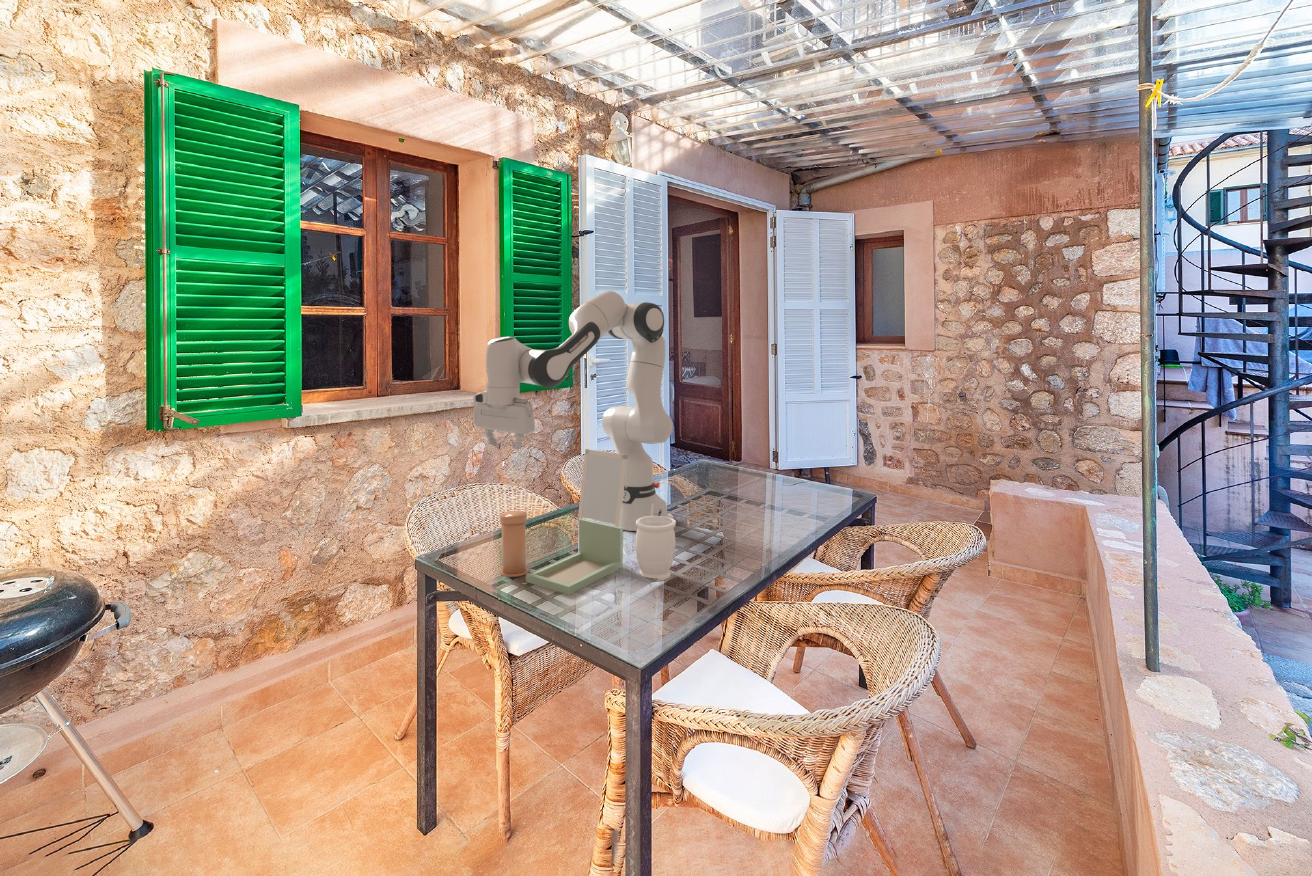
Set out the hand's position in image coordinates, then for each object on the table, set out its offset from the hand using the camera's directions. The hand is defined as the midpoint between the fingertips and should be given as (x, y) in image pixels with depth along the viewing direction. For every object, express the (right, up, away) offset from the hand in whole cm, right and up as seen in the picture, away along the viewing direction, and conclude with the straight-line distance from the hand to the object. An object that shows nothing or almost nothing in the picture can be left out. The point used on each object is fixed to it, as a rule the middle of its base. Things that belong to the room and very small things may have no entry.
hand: (504, 447), depth 176 cm
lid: (+27, -11, -5) cm, 30 cm away
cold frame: (+21, -34, -11) cm, 41 cm away
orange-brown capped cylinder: (+5, -32, -9) cm, 34 cm away
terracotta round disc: (+5, -33, -9) cm, 35 cm away
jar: (+42, -34, -8) cm, 54 cm away
